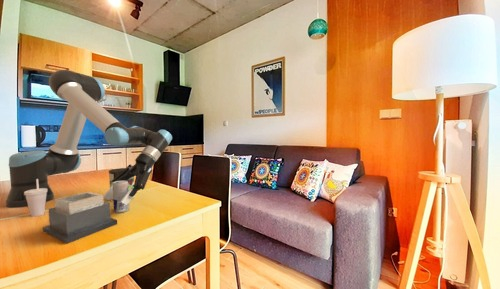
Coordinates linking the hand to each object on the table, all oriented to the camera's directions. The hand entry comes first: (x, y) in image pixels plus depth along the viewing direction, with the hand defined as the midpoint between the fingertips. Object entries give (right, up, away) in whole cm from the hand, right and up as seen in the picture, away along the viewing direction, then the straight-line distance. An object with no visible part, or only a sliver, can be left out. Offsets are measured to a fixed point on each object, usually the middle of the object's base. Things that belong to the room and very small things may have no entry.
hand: (114, 201), depth 80 cm
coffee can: (-8, -4, +19) cm, 21 cm away
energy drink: (+1, -5, +3) cm, 6 cm away
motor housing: (-3, -6, -12) cm, 13 cm away
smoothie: (-30, -5, 0) cm, 30 cm away
